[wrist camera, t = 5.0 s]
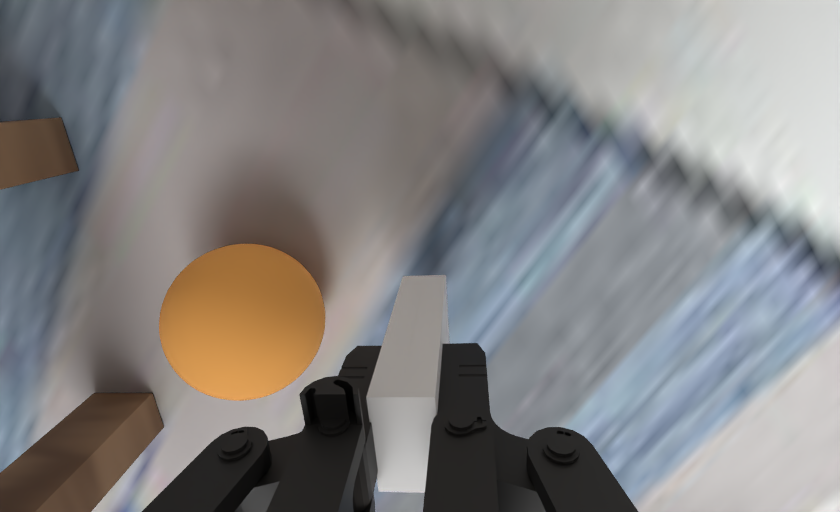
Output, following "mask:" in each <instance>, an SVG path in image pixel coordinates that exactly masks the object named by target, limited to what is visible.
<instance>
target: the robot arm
mask: <svg viewBox="0 0 840 512" xmlns="http://www.w3.org/2000/svg"><path fill="white" fill-rule="evenodd" d="M299 395H300V400H301V405H302V410H303V415H304V420H305V426H304V429H303V431H302V432H300V433H298V434H294V435H291V436H288V437H283V438H279V439H275V440H271V441H268V438H267V436H266V434H265V433H264V431H263V430H261V429H258V428H256V427H242V428H237V429H233V430H231V431H228V432H226V433H224V434H222V435H220V436H219V437H218V438H216V439H215V440H214V441H213V442H211V443H210V444H209V445H208V446H207V447H206V448H205V449H204V450H203V451H202V452H201V453H200V454H199V455H198V456H197V457H196V458H195V459H194V460H193V461H192V462H191V463H190V464H189V465H188V466H187V467H186V468H185V469H184V470H183V471H182V472H181V473H180V474H179V475H178V476H177V477H176V478H175V479H174V480H173V481H172V482H171V483H170V484H169V485H168V486H167V487H166V488H165V489H164V490H163V491H162V492H161V493H160V494H159V495H158V496H157V497H156V498H155V499H154V500H153V501H152V502H151V503H150V504H149V505H148V506H147V507H146V508H145V509H144V510H143V511H142V512H375V501H374V494H373V492H374V487H375V483H376V478H377V481H378V489H379V492H419V493H425V497H424V507H423V512H638V511H637V509H636V508H635V506H634V505H633V503H632V502H631V500H630V499H629V498H628V496H627V495H626V493H625V492H624V490H623V489H622V487H621V486H620V484H619V483H618V481H617V480H616V479H615V477H614V476H613V474H612V473H611V471H610V470H609V468H608V467H607V465H606V464H605V463H604V461H603V460H602V458H601V457H600V455H599V454H598V452H597V451H596V449H595V448H594V447H593V445H592V444H591V443H590V442H589V441H588V440H587V439H586V438H585V437H584V436H582V435H581V434H579V433H577V432H575V431H573V430H570V429H565V428H561V427H547V428H544V429H541V430H538V431H536V432H535V433H534V434H533V435H532V436H531V437H530V438H529V439H525V438H521V437H518V436H515V435H512V434H509V433H507V432H506V431H504V430H502V429H501V428H500V427H498V426H497V425H496V424H495V422H494V421H493V419H492V418H491V414H490V406H489V394H488V381H487V368H486V356H485V352H484V351H483V350H482V349H481V347H480V346H479V345H478V344H477V343H461V344H449V325H448V306H447V287H446V275H428V276H403V278H402V281H401V284H400V288H399V291H398V294H397V298H396V301H395V304H394V307H393V311H392V314H391V317H390V321H389V324H388V327H387V330H386V334H385V337H384V340H383V344H382V346H357V347H356V348H355V349H353V350H352V351H351V352H350V353H349V354H348V355H347V356H346V358H345V360H344V363H343V365H342V369H341V370H340V372H339V375H338V376H333V377H325V378H322V379H320V380H317V381H314V382H313V383H311V384H310V385H308V386H306V387H305V388H304V389H303V391H302V392H301V393H300V394H299Z"/></svg>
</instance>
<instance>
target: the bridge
mask: <svg viewBox="0 0 840 512" xmlns="http://www.w3.org/2000/svg"><path fill="white" fill-rule="evenodd" d="M75 171H79V170H78V167H77V164H76V161H75V158H74V155H73V152H72V149H71V146H70V143H69V140H68V137H67V134H66V131H65V128H64V125H63V122H62V119H61V117H59V118H45V119H31V120H17V121H3V122H0V190H1V189H5V188H9V187H13V186H17V185H21V184H26V183H30V182H34V181H38V180H42V179H46V178H50V177H54V176H59V175H63V174H67V173H71V172H75ZM163 427H164V426H163V423H162V420H161V417H160V414H159V411H158V408H157V405H156V402H155V399H154V396H153V393H94V394H92V395H91V396H90V397H89V398H88V399H87V400H85V401H84V402H83V403H82V404H81V405H80V406H78V407H77V408H76V409H75V410H74V411H73V412H71V413H70V414H69V415H68V416H67V417H65V418H64V419H63V420H62V421H61V422H60V423H58V424H57V425H56V426H55V427H54V428H53V429H51V430H50V431H49V432H48V433H47V434H46V435H44V436H43V437H42V438H41V439H40V440H38V441H37V442H36V443H35V444H34V445H33V446H31V447H30V448H29V449H28V450H27V451H26V452H24V453H23V454H22V455H21V456H20V457H19V458H17V459H16V460H15V461H14V462H13V463H12V464H10V465H9V466H8V467H7V468H6V469H4V470H3V471H2V472H1V473H0V512H91V511H92V510H93V509H94V508H95V507H96V505H97V504H98V503H99V502H100V501H101V500H102V498H103V497H104V496H105V495H106V494H107V493H108V491H109V490H110V489H111V488H112V487H113V486H114V484H115V483H116V482H117V481H118V480H119V479H120V477H121V476H122V475H123V474H124V473H125V472H126V470H127V469H128V468H129V467H130V466H131V465H132V464H133V462H134V461H135V460H136V459H137V458H138V457H139V455H140V454H141V453H142V452H143V451H144V450H145V448H146V447H147V446H148V445H149V444H150V443H151V441H152V440H153V439H154V438H155V437H156V436H157V434H158V433H159V432H160V431H161V430H162V429H163Z"/></svg>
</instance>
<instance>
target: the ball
mask: <svg viewBox="0 0 840 512" xmlns="http://www.w3.org/2000/svg"><path fill="white" fill-rule="evenodd" d="M324 329H325V307H324V303H323V299H322V295H321V292H320V290H319V287H318V286H317V284H316V282H315V280H314V279H313V277H312V276H311V274H310V273H309V272H308V271H307V270H306V269H305V268H304V266H303V265H301V264H300V263H299V262H298V261H297V260H295V259H294V258H292V257H291V256H290V255H288V254H286V253H284V252H282V251H280V250H277V249H275V248H272V247H268V246H264V245H258V244H234V245H228V246H224V247H221V248H217V249H215V250H212V251H210V252H207V253H206V254H204V255H202V256H200V257H199V258H197V259H195V260H194V261H193V262H191V263H190V264H189V265H188V266H187V267H186V268H184V269H183V270H182V271H181V273H180V274H179V275H178V276H177V277H176V278H175V280H174V281H173V283H172V284H171V286H170V288H169V289H168V291H167V294H166V296H165V298H164V301H163V304H162V307H161V312H160V320H159V333H160V339H161V344H162V348H163V351H164V353H165V356H166V358H167V360H168V362H169V363H170V365H171V366H172V368H173V369H174V371H175V372H176V373H177V374H178V375H179V376H180V377H181V378H182V379H183V380H184V381H185V382H186V383H187V384H189V385H190V386H191V387H193V388H195V389H196V390H198V391H200V392H202V393H204V394H206V395H209V396H212V397H216V398H220V399H226V400H240V401H241V400H251V399H256V398H261V397H264V396H267V395H270V394H272V393H275V392H277V391H279V390H281V389H283V388H284V387H286V386H287V385H289V384H290V383H292V382H293V381H294V380H296V379H297V378H298V377H299V376H300V375H301V374H302V373H303V372H304V371H305V370H306V368H307V367H308V366H309V365H310V364H311V362H312V360H313V358H314V357H315V355H316V353H317V352H318V349H319V347H320V344H321V341H322V338H323V334H324Z"/></svg>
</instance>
